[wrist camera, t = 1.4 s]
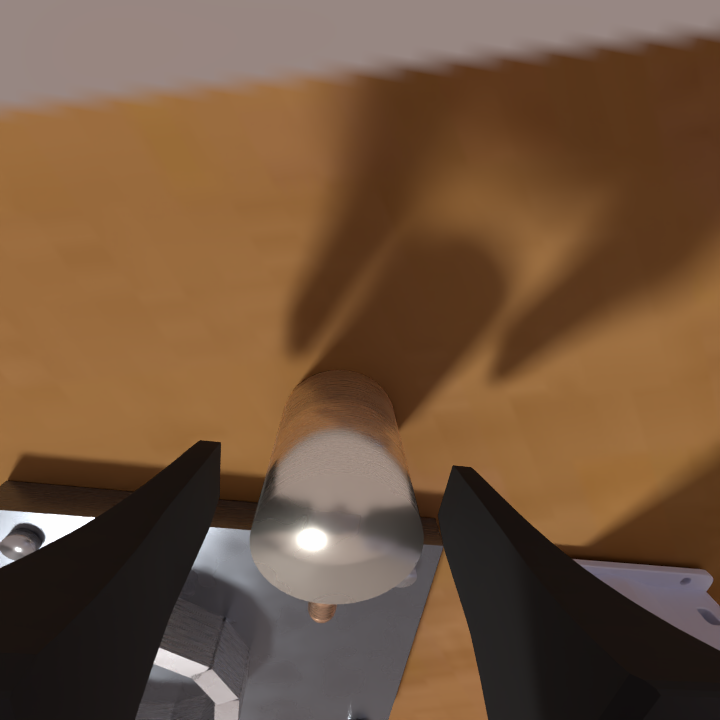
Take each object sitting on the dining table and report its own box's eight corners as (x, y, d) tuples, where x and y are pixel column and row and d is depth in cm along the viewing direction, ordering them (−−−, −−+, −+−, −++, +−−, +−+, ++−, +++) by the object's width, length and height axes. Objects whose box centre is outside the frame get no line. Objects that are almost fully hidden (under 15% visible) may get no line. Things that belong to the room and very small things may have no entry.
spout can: (403, 377, 15) (441, 484, 9) (375, 506, 17) (392, 653, 12) (287, 363, 14) (254, 466, 9) (275, 497, 17) (243, 645, 11)
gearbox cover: (435, 518, 17) (456, 590, 14) (378, 710, 23) (384, 793, 20) (6, 480, 16) (-81, 553, 12) (57, 698, 21) (6, 787, 18)
